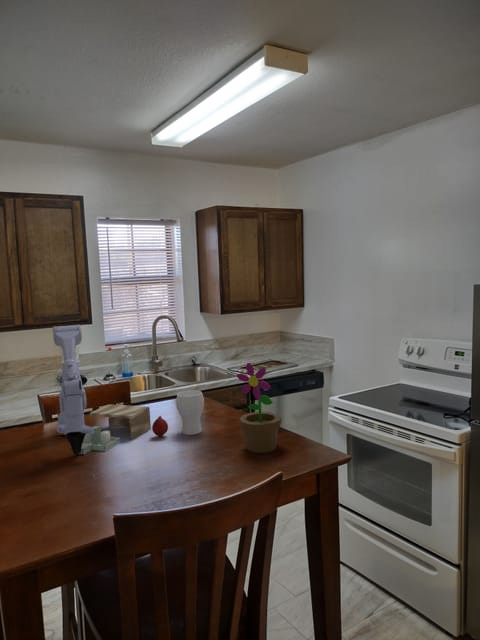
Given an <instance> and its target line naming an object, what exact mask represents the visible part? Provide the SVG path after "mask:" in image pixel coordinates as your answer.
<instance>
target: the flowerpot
mask: <svg viewBox="0 0 480 640" xmlns="http://www.w3.org/2000/svg"><path fill="white" fill-rule="evenodd" d="M245 367H246V368H245V369H246V372H247V374H244V373H237V374H236V378H238V380H239V381H242V382H244V383H247V382H248V383H247V384H245V385H243V386H242V388H241V394H242V395H246V394H248V393H249V392H250V391H251V389H252V393H253V396H254V398H255V399H256V401H258V402H257V403H258V404H257V403H251V404H250V405H248V406H247V407H248V408H249V409H251V410H254V412H249V413H246V414H243V415H241V416H240V417H239V421H238V422H239V426H240V427H241V428H242V429H243V434H244V441H245V447H246V449H247V450H248V451H249V452H253V453H254V454H255V453H258V454H259V453H260V454H262V453H263V454H264V453H271V452H273V451H274V450H276V449H277V443H278V433H279V432H278V431H279V427H281V425H282V416H281V415H280V414H278V413H275V412H271V411H262V404H263V405H267V406H269V405H270V406H271V405H272V404H273V400H272V399H271V397H269V396H268V395H265V394H264V395H263V394H262V395H261V391H260V389H263V390H270V389H271V387H272V386H271V385H270V383H268V382H267V381H264V380H260V381H259V379H262V378H263V377H264V376H265V375H266V372H267V369H266V367H263V368H260V369H259V370H257V372H256V373H255V369H254V366H253V365H252V364H251V363H250V362H247V363H246V366H245ZM254 374H255V375H254ZM248 375H249V376H248ZM255 411H256V412H255Z"/></svg>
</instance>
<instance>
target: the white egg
mask: <svg viewBox="0 0 480 640" xmlns="http://www.w3.org/2000/svg"><path fill="white" fill-rule="evenodd" d="M110 437H111V431H110V430H103V431H102V430H101V432H100V439H101V445H103V446H105V445H107V444H108V443H110V442H111V439H110Z"/></svg>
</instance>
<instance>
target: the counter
mask: <svg viewBox="0 0 480 640" xmlns="http://www.w3.org/2000/svg"><path fill="white" fill-rule="evenodd" d="M89 416H90V417H103V418H104V417H105V418H108V427H110V428H117V429H118V428H120V429H121V428H122V429H129V430H130V440H134V441H135V440H137V438H139V437H141V436H143V435H144V434H145V433H147V432H149V431H150V430H152V427H151V426H152V424H151V423H152V422H151V410H150V406H140V405H126V404H125V405H123V404H107V405H105V406H103V407H100V408H98V409H95V410H93V411H91V412H89Z"/></svg>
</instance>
